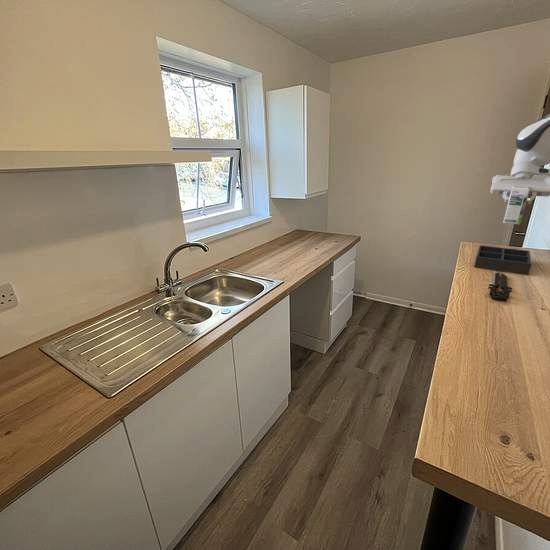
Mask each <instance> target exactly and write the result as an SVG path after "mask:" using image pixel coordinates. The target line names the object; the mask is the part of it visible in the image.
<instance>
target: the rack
mask: <svg viewBox="0 0 550 550" xmlns="http://www.w3.org/2000/svg"><path fill="white" fill-rule="evenodd" d="M531 267H532V258H531V252H530V250H527V249H526V250H525V249H517V248H516V249H515V248H508V247H507V248H506V247H498V246H497V247H496V246H489V245H481V244H480V245H479V246H478V250H477V253H476V256H475V261H474V267H473V268H476V269H483V270H491V271H497V272H503V273H510V274H518V275H523V276H529V273H530V270H531Z"/></svg>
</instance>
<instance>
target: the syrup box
mask: <svg viewBox="0 0 550 550" xmlns="http://www.w3.org/2000/svg"><path fill="white" fill-rule="evenodd" d="M529 191H530V187H515V186H513V188H512V190H511V193H510V195H509V196H508V197H509V202H508V203H507V206H506V209H505V214H504V218H503V221H502V223H503V224H510V225H521V224H522V223H521V222H522V221H523V216H524V212H525V210H526V209H525V208H526V205H527V204H526V202H527V198H529V196H528V194H529Z"/></svg>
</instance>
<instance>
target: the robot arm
mask: <svg viewBox="0 0 550 550" xmlns="http://www.w3.org/2000/svg"><path fill="white" fill-rule="evenodd" d="M515 147H516V152H515V154H514V158H513V162H512V163H513V165H512V167H511V169H510V174H497V175H495V176H493V177H492V178H491V183H492V184H491V185H490V190H489V193H490V194H491V195H497V196H498V195H499V196H502V199H503V200H504V202H503V203H504V204H508V202H509V197H510V193H511V190H512V188H513V186H515V187H530V191H529V194H528V198H527V202H526V205H531V204H532V201H533V200H534V199H536V197H545V198H546V197H547V198H548V197H550V168H545V167H544V166H546V165H550V112H549V113H548V114H546V115H545V116H543V117H541V118H539V119H538V120H536V121H534V122H532V123H530V124H528V125H526V126H525V127H524V128H522V129H521V130H520V131H519V132H518V134H517V135H516V139H515Z"/></svg>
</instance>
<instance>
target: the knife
mask: <svg viewBox="0 0 550 550" xmlns="http://www.w3.org/2000/svg"><path fill="white" fill-rule="evenodd" d="M499 288H500V289H501V290H499ZM488 289H490V290H489V296H490V299H491V300H495V301H500V302H501V301H503V302H506V301H508V299H509V298H510V293H512V290H513V287H511V286H508V275H506V274H504V273H501V271H498V272H495V273H493V280H492V283H489V284H488Z"/></svg>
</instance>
